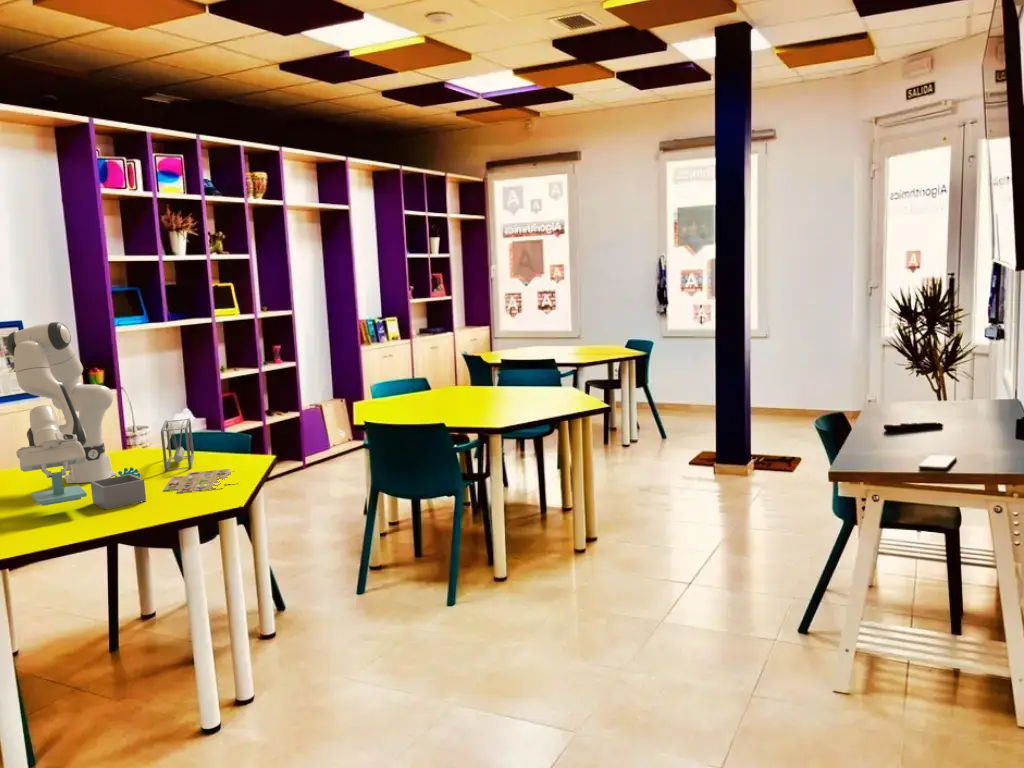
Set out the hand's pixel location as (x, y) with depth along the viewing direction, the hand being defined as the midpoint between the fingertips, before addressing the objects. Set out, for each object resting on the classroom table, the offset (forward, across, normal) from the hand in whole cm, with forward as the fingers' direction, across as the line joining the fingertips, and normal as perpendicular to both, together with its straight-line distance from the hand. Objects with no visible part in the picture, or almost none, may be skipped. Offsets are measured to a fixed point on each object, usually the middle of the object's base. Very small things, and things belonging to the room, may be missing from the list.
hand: (56, 475), depth 291 cm
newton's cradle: (-29, +54, +48) cm, 78 cm away
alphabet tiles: (+2, +52, +18) cm, 55 cm away
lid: (+5, 0, +6) cm, 7 cm away
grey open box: (+8, +19, +12) cm, 24 cm away
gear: (-7, +27, +26) cm, 38 cm away
